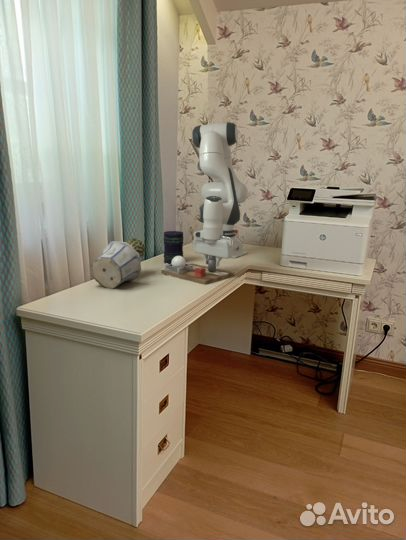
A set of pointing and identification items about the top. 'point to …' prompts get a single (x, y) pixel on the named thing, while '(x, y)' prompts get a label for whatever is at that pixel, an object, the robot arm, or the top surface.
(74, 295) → the top surface
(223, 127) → the robot arm
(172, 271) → the board
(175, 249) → the storage jar
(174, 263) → the white ball
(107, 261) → the potted plant
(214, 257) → the pawn
